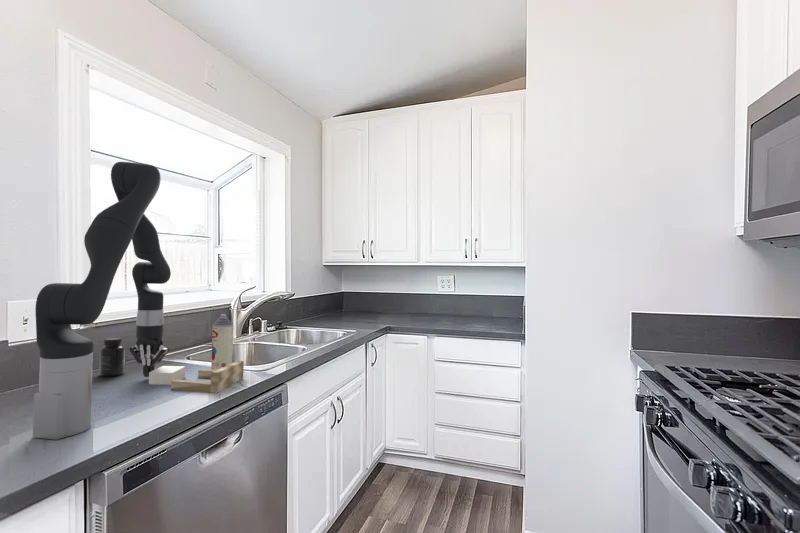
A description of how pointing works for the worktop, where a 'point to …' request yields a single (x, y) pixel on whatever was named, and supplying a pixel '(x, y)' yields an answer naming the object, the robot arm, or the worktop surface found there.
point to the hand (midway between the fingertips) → (148, 376)
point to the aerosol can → (222, 342)
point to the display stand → (212, 379)
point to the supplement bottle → (112, 358)
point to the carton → (166, 374)
